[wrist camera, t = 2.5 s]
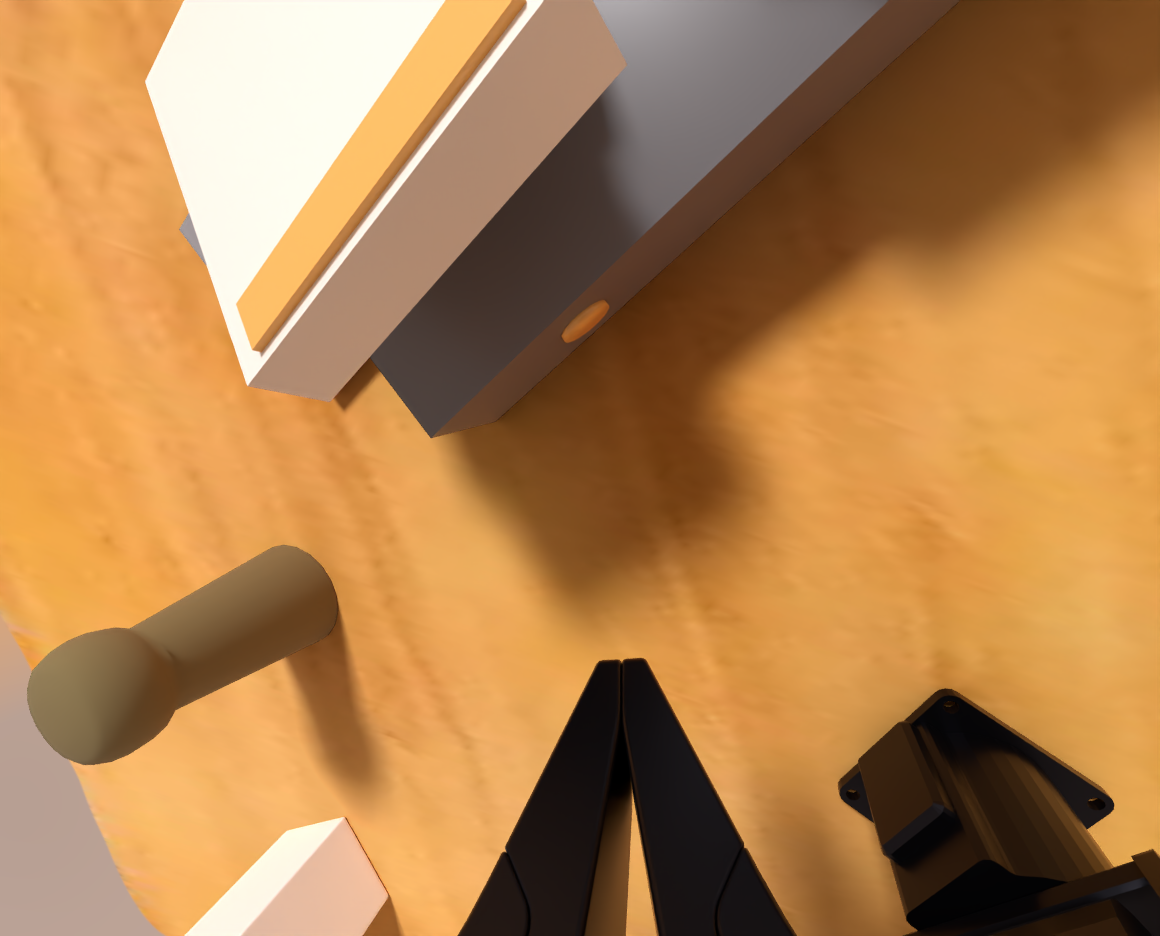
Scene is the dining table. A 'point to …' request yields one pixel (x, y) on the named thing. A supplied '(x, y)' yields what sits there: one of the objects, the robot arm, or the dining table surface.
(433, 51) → the orange striped rocker plate
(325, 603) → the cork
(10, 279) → the dining table surface
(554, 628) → the dining table surface
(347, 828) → the milk
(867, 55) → the rocker switch box
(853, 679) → the dining table surface
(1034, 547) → the dining table surface
